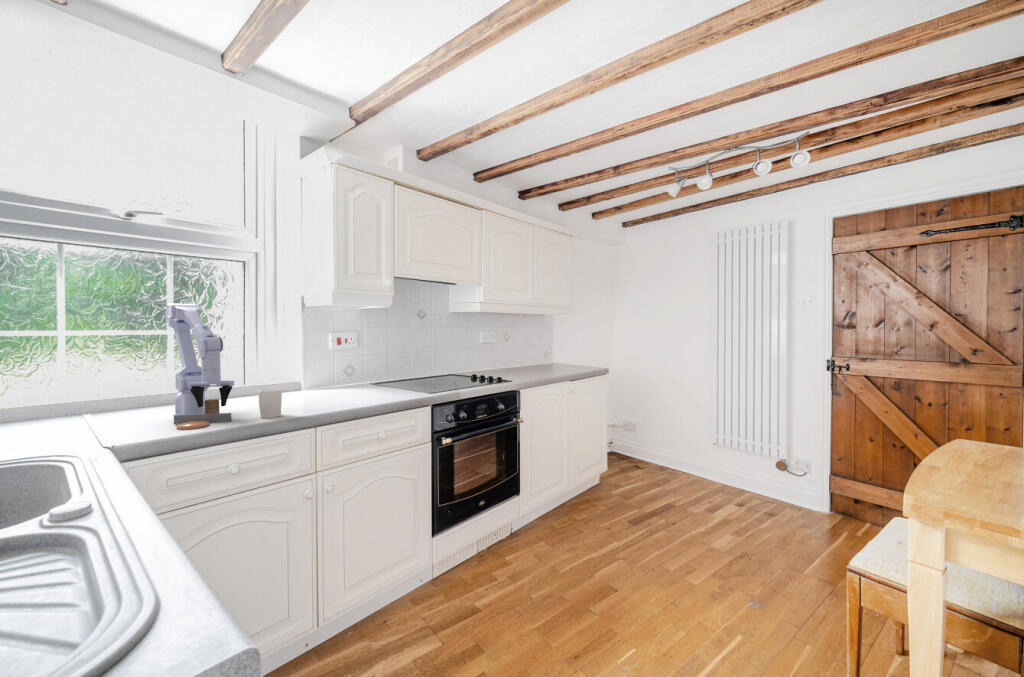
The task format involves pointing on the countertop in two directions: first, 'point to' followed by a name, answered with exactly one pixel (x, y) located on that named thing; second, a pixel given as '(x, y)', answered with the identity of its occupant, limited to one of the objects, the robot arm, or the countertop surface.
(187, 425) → the terracotta coaster
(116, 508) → the countertop surface
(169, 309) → the robot arm
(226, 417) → the smoky grey fence
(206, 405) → the walnut peg
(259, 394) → the white cup
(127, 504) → the countertop surface
